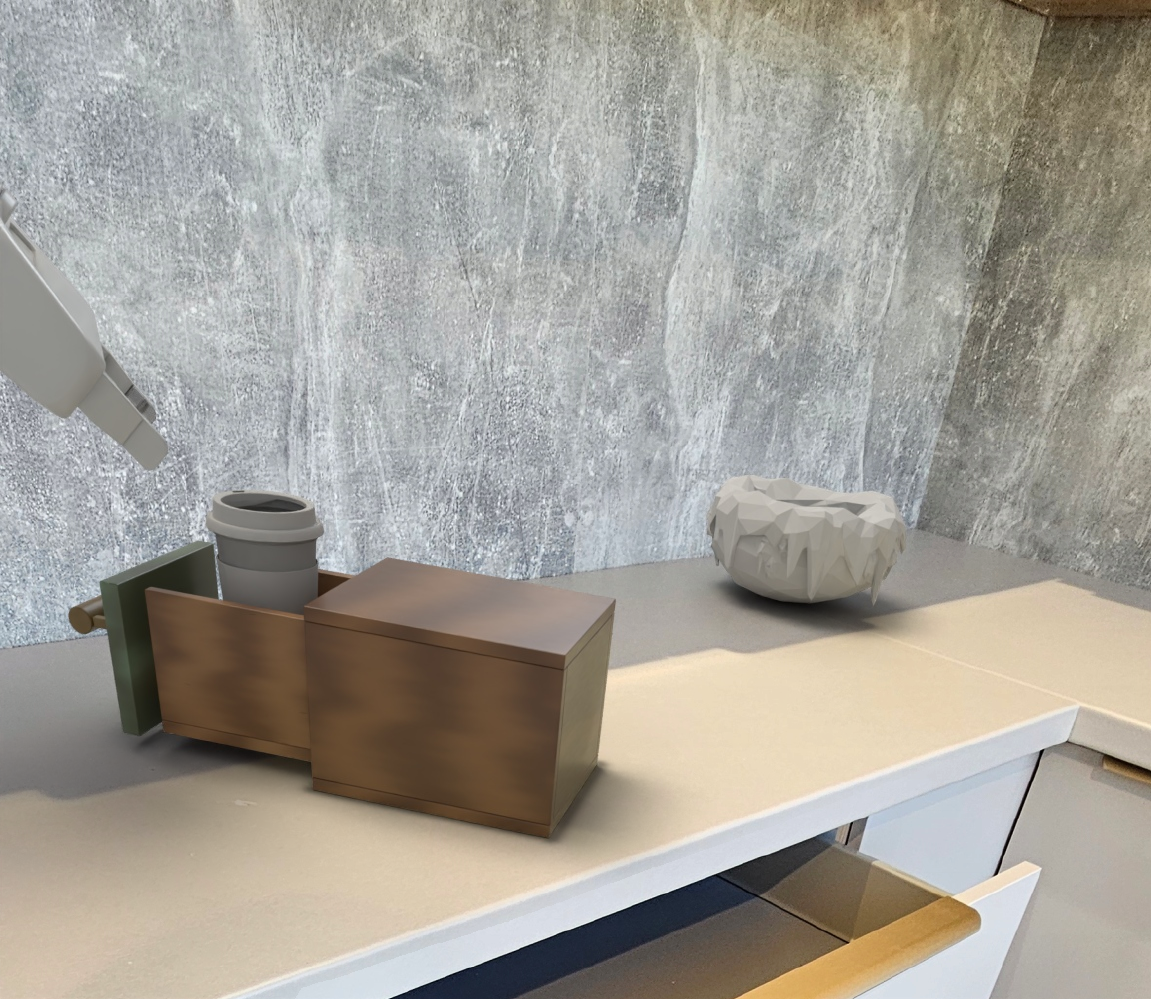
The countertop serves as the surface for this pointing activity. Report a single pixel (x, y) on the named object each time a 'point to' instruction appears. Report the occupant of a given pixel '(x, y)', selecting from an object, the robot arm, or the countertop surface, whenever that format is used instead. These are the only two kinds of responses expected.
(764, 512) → the bowl
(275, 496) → the cup
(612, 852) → the countertop surface
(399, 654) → the cabinet
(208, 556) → the drawer
